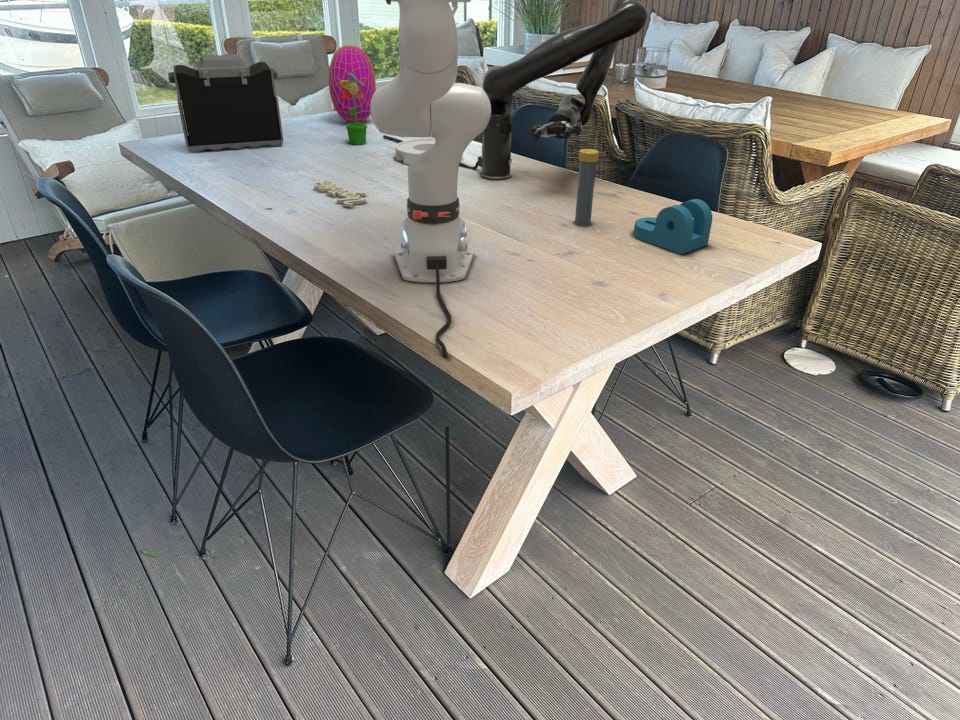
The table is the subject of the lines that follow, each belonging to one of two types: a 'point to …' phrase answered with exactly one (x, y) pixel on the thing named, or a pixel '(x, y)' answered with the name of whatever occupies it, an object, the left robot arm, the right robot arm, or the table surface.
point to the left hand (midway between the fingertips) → (430, 23)
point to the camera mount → (677, 227)
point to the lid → (588, 155)
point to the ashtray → (412, 149)
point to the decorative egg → (340, 66)
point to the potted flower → (354, 129)
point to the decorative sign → (340, 193)
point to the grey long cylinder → (585, 193)
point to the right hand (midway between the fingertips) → (551, 136)
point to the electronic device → (227, 103)
